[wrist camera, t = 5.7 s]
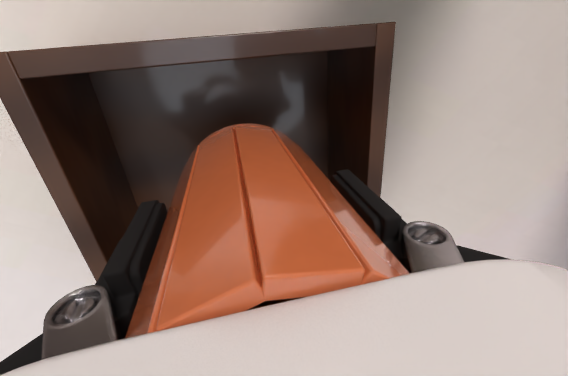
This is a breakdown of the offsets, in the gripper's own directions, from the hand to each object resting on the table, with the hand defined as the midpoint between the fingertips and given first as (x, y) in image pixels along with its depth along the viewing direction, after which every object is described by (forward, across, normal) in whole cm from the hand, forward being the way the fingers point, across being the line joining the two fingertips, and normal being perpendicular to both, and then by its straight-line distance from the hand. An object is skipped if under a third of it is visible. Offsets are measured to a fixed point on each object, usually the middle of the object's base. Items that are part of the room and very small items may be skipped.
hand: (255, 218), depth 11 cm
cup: (+3, 0, 0) cm, 3 cm away
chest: (+10, +1, +1) cm, 10 cm away
